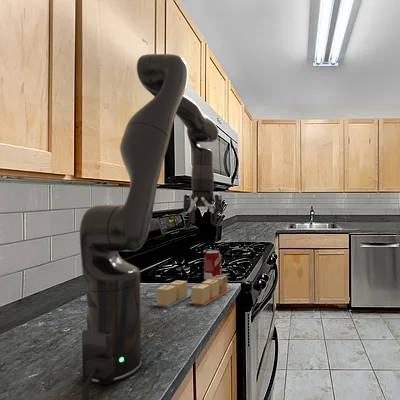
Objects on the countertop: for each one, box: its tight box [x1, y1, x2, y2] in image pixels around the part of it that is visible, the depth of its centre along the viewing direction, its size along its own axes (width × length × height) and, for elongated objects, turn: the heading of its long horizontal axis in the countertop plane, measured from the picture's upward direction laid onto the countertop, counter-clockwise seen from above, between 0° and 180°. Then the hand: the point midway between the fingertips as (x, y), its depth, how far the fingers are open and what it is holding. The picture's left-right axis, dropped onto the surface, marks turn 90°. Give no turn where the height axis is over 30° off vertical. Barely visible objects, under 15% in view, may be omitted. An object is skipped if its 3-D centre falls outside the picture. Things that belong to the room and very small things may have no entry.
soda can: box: [203, 249, 222, 281], centre depth 127 cm, size 7×7×12 cm
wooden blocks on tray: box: [188, 279, 231, 306], centre depth 107 cm, size 17×6×5 cm, turn 165°
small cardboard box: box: [211, 274, 228, 292], centre depth 113 cm, size 4×4×5 cm
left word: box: [151, 279, 191, 308], centre depth 105 cm, size 18×6×5 cm, turn 165°
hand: (202, 223), depth 110 cm, fingers open, 8 cm apart
